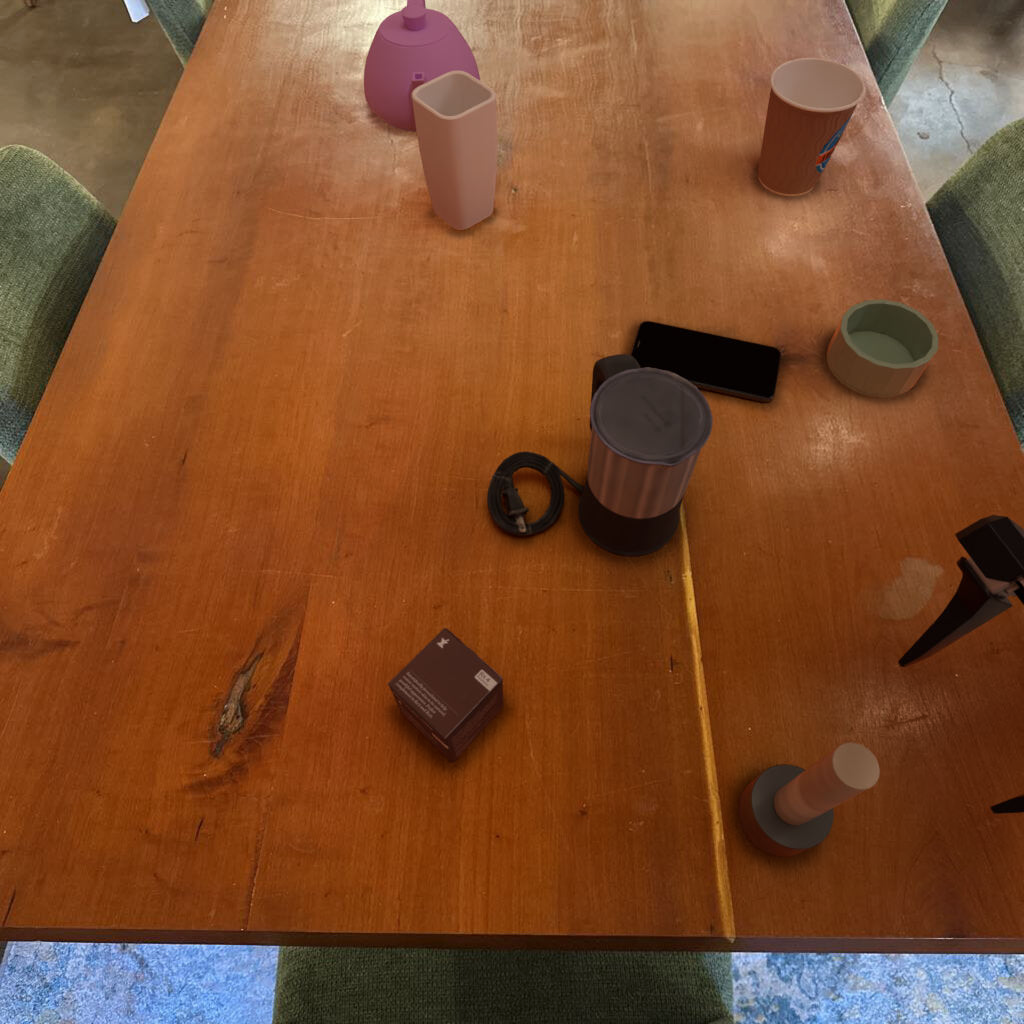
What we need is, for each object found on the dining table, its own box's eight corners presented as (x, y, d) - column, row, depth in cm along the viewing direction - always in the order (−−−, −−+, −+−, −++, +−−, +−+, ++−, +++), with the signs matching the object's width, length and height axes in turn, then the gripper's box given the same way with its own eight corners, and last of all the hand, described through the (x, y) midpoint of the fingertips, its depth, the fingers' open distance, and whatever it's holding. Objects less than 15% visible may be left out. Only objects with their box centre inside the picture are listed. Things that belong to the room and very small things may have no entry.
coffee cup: (820, 214, 91) (858, 117, 81) (735, 194, 93) (761, 98, 83) (835, 164, 96) (872, 67, 85) (754, 146, 98) (780, 50, 88)
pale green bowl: (920, 342, 80) (940, 310, 76) (915, 407, 76) (936, 377, 72) (831, 323, 82) (846, 291, 78) (821, 386, 77) (836, 355, 73)
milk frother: (700, 527, 69) (739, 427, 56) (555, 614, 65) (562, 527, 52) (608, 423, 75) (624, 311, 63) (470, 496, 71) (458, 392, 58)
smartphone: (781, 353, 80) (639, 323, 82) (783, 347, 79) (641, 317, 81) (772, 406, 76) (624, 373, 78) (774, 401, 75) (625, 368, 78)
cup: (421, 213, 92) (404, 92, 80) (468, 187, 95) (458, 66, 82) (459, 243, 89) (447, 122, 77) (506, 216, 92) (502, 94, 79)
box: (399, 712, 61) (384, 682, 54) (452, 659, 63) (444, 624, 57) (453, 765, 59) (444, 740, 52) (506, 708, 61) (504, 677, 54)
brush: (819, 790, 57) (911, 733, 43) (810, 868, 54) (905, 833, 41) (744, 766, 58) (811, 703, 44) (731, 842, 55) (798, 799, 42)
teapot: (368, 64, 109) (352, -30, 99) (476, 57, 110) (471, -37, 100) (366, 158, 98) (347, 62, 88) (487, 150, 99) (482, 54, 88)
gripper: (1084, 424, 37) (812, 589, 45) (1436, 805, 28) (1017, 930, 36) (1111, 471, 45) (875, 604, 53) (1392, 779, 36) (1057, 886, 44)
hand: (944, 733), depth 46 cm, fingers open, 9 cm apart
